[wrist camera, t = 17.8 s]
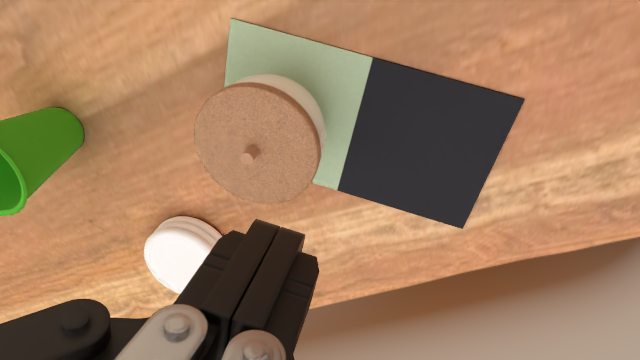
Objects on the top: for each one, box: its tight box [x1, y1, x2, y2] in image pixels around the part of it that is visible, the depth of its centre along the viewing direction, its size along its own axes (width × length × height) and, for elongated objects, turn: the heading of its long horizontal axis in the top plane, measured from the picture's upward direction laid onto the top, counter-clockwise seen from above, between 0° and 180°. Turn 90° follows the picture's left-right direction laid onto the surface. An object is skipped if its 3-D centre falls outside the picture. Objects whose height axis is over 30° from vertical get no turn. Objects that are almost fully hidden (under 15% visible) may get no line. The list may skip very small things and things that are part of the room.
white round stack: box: [144, 216, 222, 294], centre depth 54 cm, size 10×10×4 cm
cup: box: [0, 107, 84, 216], centre depth 46 cm, size 9×9×11 cm
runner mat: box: [224, 18, 524, 229], centre depth 43 cm, size 26×14×1 cm, turn 78°
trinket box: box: [194, 73, 326, 204], centre depth 40 cm, size 11×11×9 cm
